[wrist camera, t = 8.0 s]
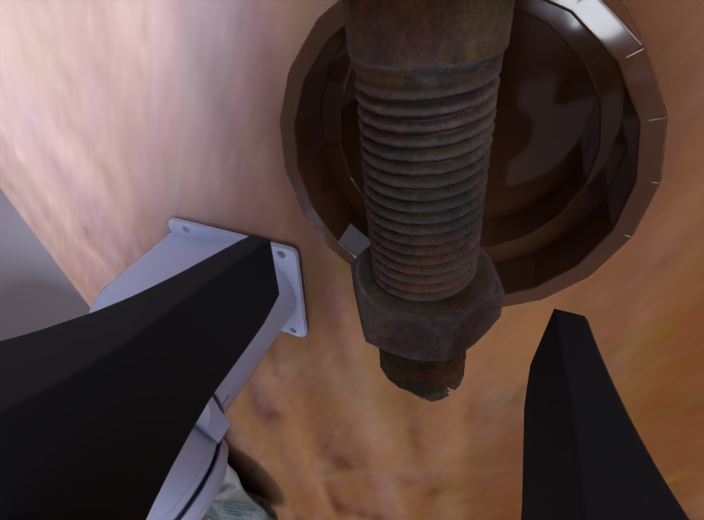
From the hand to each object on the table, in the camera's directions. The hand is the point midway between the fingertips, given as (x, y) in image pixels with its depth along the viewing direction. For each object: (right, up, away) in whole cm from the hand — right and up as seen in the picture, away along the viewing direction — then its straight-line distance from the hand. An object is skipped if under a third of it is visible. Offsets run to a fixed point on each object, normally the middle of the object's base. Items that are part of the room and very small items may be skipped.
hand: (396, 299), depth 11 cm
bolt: (+2, +4, +3) cm, 5 cm away
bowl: (+4, +7, +6) cm, 10 cm away
